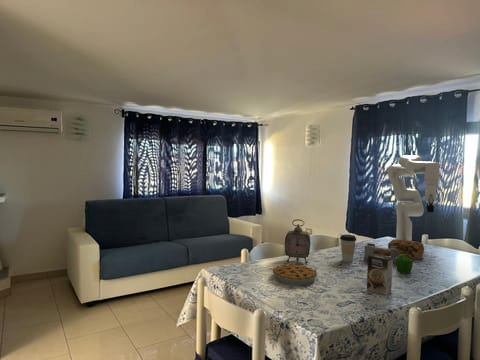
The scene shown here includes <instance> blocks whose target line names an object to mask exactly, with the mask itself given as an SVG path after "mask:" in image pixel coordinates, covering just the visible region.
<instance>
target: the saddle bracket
mask: <svg viewBox="0 0 480 360" xmlns="http://www.w3.org/2000/svg"><path fill="white" fill-rule="evenodd" d="M396 250H397V246H391V253H390V256H389V257H393V266H394V265H395V266H396V258H397V257H396Z"/></svg>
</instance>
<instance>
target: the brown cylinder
mask: <svg viewBox="0 0 480 360" xmlns="http://www.w3.org/2000/svg"><path fill="white" fill-rule="evenodd" d="M390 253H391V249H388V247H387V248H386V247H378V246H375V247H374V254H379V255H383V256H388V257H390ZM398 257H399V256H398V250H396V258H398Z"/></svg>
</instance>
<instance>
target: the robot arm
mask: <svg viewBox="0 0 480 360" xmlns="http://www.w3.org/2000/svg"><path fill="white" fill-rule="evenodd" d="M416 174H417V175H424V181H423V183H424V184H423V185H424V186H425V194H424V201H425V202H426V211H427V213H435V211H434V210H435V205H434V203H435V202H436V196H437V187H438V186H439V183H440V181H439V180H440V163H439V162H436V161H423V159H422V157H421V156H419V155H402V156H400V157H399V159H398V164H392V165H390V166H388V169H387V176H388V179H389V182H390V183H391V186H392V189H393V193H394V197H395V201H397V202H398V203H397V204H396V206H395V212H396V238H395V239H399V240H408V241H412V240H413V239H412V237H413V236H412V233H413V222H412V220H411V218H410V217H421V216H423V214H424V213H425V208H424V204H423V200H422V197H421V193H420V191H419V190H417V189H416V188H407V186H406V185H407V184H406V182H405V181H404V180H403V179H402V178H401V177H413V176H415V175H416Z"/></svg>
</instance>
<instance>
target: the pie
mask: <svg viewBox="0 0 480 360" xmlns="http://www.w3.org/2000/svg"><path fill="white" fill-rule="evenodd" d="M272 274H273V275H274V277H275V279H276V280H277V281H278V282H280V283H282V284H285V285H289V286H304V285H305V286H306V285H310V284H312V283H314V282H315V280H316V278H317V277H318V273H317V272H316V269H313V268H311V267H308V266H306V265H301V264H292V263H289V264H288V265H286V264H281V265H277V266H276V267H273V270H272Z"/></svg>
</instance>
